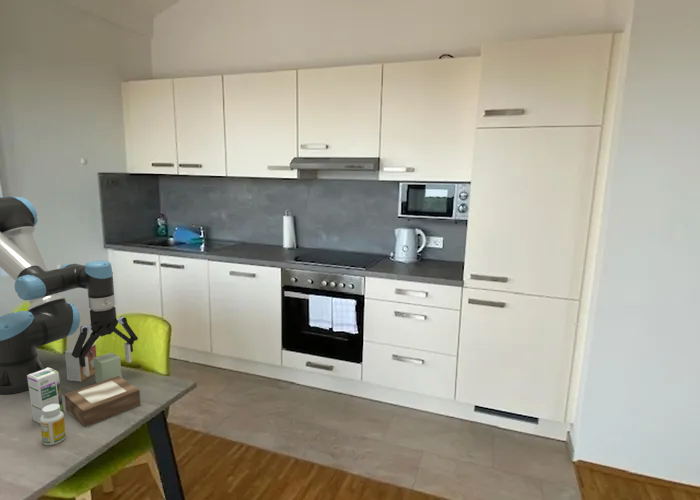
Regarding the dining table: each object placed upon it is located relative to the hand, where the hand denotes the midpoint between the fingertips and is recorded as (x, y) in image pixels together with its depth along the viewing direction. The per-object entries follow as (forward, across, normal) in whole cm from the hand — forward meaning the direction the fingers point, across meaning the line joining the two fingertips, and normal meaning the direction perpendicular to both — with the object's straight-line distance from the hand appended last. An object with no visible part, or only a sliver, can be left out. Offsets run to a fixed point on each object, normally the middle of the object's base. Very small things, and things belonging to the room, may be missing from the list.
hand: (108, 368), depth 154 cm
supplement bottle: (+6, -24, -22) cm, 33 cm away
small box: (+5, -4, +11) cm, 13 cm away
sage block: (+5, 0, 0) cm, 5 cm away
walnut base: (+5, -8, -15) cm, 18 cm away
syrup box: (+5, -21, -9) cm, 24 cm away
